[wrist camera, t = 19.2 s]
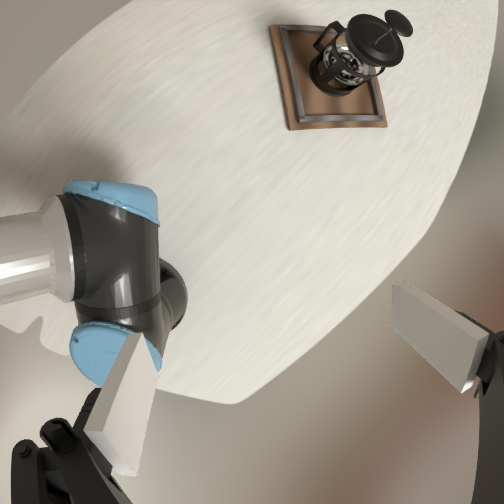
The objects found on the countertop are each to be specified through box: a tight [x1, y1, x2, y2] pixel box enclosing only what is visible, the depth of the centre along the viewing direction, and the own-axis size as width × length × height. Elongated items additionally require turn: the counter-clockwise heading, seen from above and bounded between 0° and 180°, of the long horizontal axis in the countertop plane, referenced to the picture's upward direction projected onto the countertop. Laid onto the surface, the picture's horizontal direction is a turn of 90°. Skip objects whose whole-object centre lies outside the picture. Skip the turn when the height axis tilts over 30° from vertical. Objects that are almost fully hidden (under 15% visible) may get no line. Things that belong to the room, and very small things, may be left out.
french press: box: [309, 10, 413, 97], centre depth 32 cm, size 12×9×23 cm
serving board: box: [269, 25, 388, 131], centre depth 43 cm, size 20×22×2 cm
